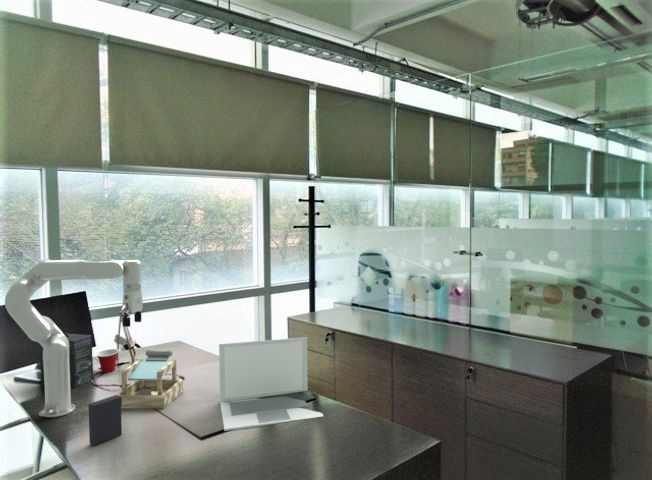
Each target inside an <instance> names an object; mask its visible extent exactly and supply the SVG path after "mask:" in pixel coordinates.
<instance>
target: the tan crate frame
mask: <svg viewBox="0 0 652 480" xmlns="http://www.w3.org/2000/svg"><path fill="white" fill-rule="evenodd" d="M141 361H144V359H142V358H140V359H138V360H136V361H135V362H133V363H132V364H130V365H129V366H128V367H126V368H124V369H123V370H121V373H120V374H121V390H120V391H118V392H117V393H116V394H115V395H117V396H120V397H121V398H122V407H121V409H165V408H166V407H167V406H168V405H169V404H170V403H171V402H173V401H172V400H173V399H174V398H175V397H176V396H177V395H178V394H179V393H180V392H181V391H182V390H183V391H184V379H183V378H178V377H177V359H172V360H170V361H171V362H169V363H168V364H167V365H165V366H164V367H163V368H161V369H160V370H159V371H158V372H157V381H138V380H133V382H131V383H130V384H127V379H128V377H127V376H129V375H131V374H132V373H133V371H134V370H135V369H136V367H137V366H138V365H139V364H140V362H141ZM170 370H171V378H163V376H165V375H166V374H168V372H169V371H170ZM140 389H150V390H151V395H134V394H135V393H137V392H138V391H139V390H140Z"/></svg>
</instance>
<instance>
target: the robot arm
mask: <svg viewBox="0 0 652 480" xmlns="http://www.w3.org/2000/svg"><path fill="white" fill-rule="evenodd" d="M141 264H142V263H141V261H140V260H139V259H127V260H123V259H122V260H120V259H110V260H107V261H87V260H83V259H59V260H58V259H55V260H54V259H53V260H52V259H50V258H49V259H47V258H46V259H41V260H40V261H39V262H38V263H37V264H35V265H34V266H33V267H31V269H30V270H28V271H26V273H24V274H23V275H22V276H21V277H20V278H18V279H17V280H15V282H13V284H12V285H11V286H10V287H9V289H8V291H7V292H6V295H5V298H4V307H5V309H6V310H7V313H8V314H9V316H10V317H11V318H12V319H13V320H14V321H15V323H16V324H17V325H18V326H19V327H20V328H21V330H22V331H23V332H24V333H25V335H26V336H27V337H28V338H29V339H30V340H31V341H33V342H36V343H38V344H39V345H40V344H41V346H42V347H43V348H44V349H43V363H44V383H45V384H44V400H45V401H44V408H43V409H42V410H40V411H39V412H38V416H40V417H43V418H44V417H45V418H56V417H58V418H59V417H61V416H65V415H68V414H71V413H72V412H73V411H75V410H76V405H75V404H74V403H72V401H71V400H72V399H71V393H72V392H71V388H70V366H69V341H68V339H67V337H66V336H65V335H64V334H63V331H62V330H61V329H60V328H59V327H58V325H56V323H55V322H54V321H53V320H52V319H51V318H50V317H48V316H45V315H42V314H41V312H39V311H38V310H37V309H36V307H35V306H34V305H33V304H32V303H31V298H32V297H33V296H34V294H35V293H37V291H38V290H39V289H41V287H43V286H44V285H46V284H47V283H48V282H49V281H63V280H64V281H65V280H69V281H70V280H108V279H110V280H112V279H119V278H120V277H121V276H122V290H123V293H122V308H121V309H120V313H121V316H122V327H127V328H130V327H131V315H132V314H134V315H133V316H134V317H133V318H134V323H142V313H143V311H142V310H143V309H144V302H143V292H142V270H141V269H142V265H141ZM131 313H132V314H131Z"/></svg>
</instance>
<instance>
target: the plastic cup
mask: <svg viewBox="0 0 652 480" xmlns="http://www.w3.org/2000/svg"><path fill="white" fill-rule="evenodd" d="M118 353H119V349H117V348H109V349H103V350H100V351H98V352H97V353H96V355H95V356H96V357H97V358H98V361H99V365H100V369H101V370H100V371H101V373H103V374H108V373H109V374H110V373H113V372H115V371H116V365H117V357H118Z"/></svg>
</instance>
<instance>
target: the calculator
mask: <svg viewBox="0 0 652 480" xmlns="http://www.w3.org/2000/svg"><path fill="white" fill-rule="evenodd" d="M87 407H88V431H89V432H88V433H89V435H88V436H89V438H88V439H89V444H91V445H92V446H97V445H99V444H101V443H104V442H106V441H109V440H111V439H114V438H117V437H120V436H122V434H123V431H122V430H123V429H122V408H121V407H122V398H121V397H120V396H117V395H116V394H115V395H112V396H109V397H105V398H102V399H99V400H96V401H94V402H90V403H89V404H88V406H87Z"/></svg>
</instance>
